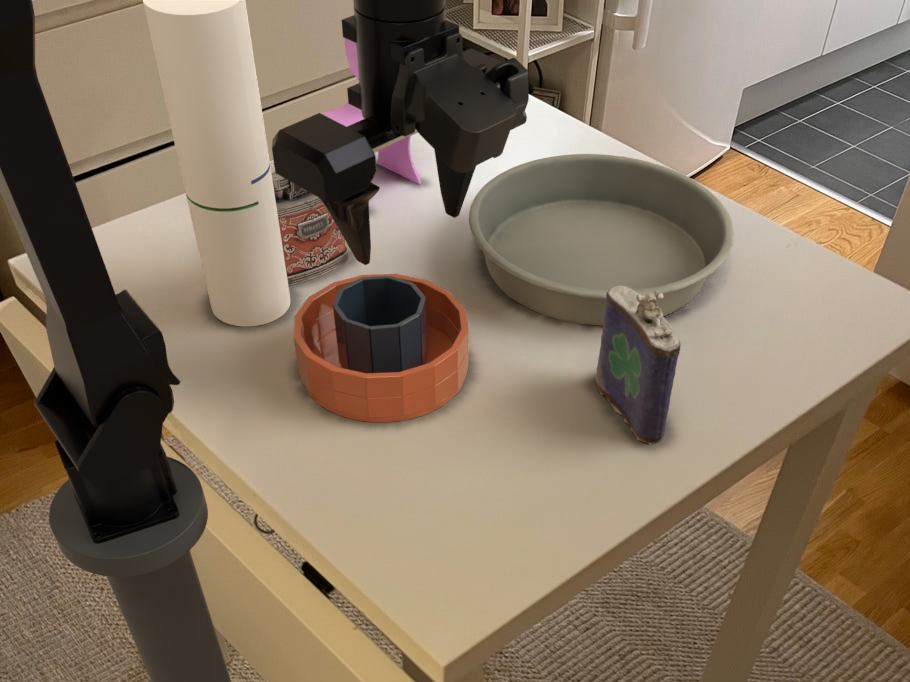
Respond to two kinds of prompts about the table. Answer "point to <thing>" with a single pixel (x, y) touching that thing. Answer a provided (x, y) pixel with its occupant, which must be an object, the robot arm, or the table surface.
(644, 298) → the flask
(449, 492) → the table surface
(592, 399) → the table surface
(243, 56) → the cylindrical container
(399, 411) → the orange bowl
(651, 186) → the cake pan
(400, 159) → the toy chair
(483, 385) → the table surface
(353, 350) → the small bowl
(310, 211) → the lighter
